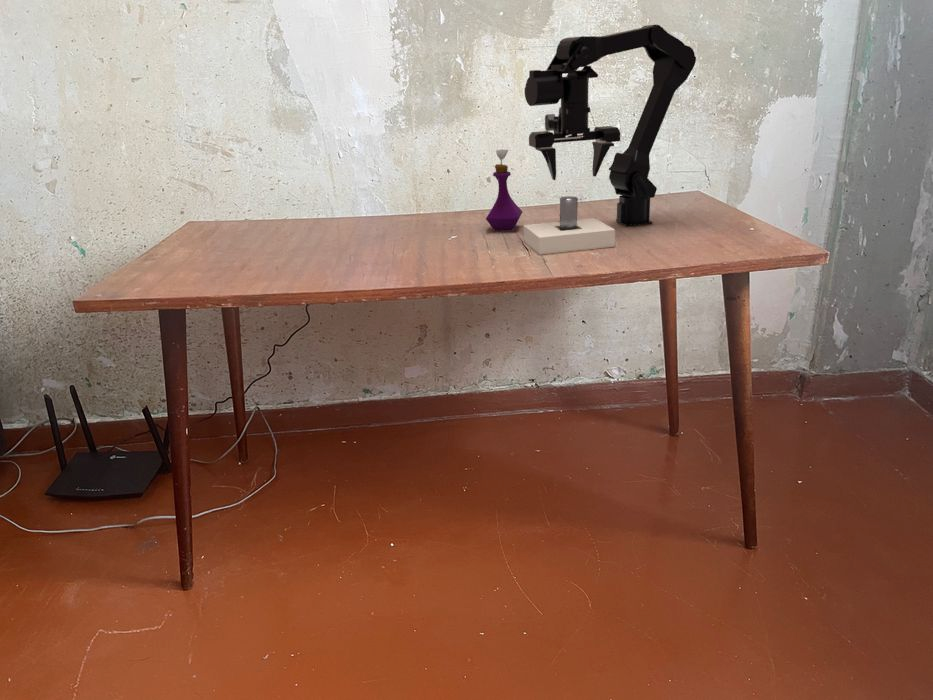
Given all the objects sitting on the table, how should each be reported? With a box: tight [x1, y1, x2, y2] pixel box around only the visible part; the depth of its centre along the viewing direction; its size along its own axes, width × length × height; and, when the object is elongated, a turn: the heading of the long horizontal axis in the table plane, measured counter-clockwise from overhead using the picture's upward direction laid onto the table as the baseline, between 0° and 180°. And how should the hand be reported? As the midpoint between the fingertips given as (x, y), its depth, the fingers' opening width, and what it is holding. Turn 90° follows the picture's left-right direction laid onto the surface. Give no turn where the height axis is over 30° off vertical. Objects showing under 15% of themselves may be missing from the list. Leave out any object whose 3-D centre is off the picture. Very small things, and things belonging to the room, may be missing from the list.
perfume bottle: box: [485, 149, 523, 232], centre depth 162 cm, size 8×8×18 cm
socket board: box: [523, 217, 616, 256], centre depth 149 cm, size 16×12×4 cm
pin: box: [559, 195, 579, 231], centre depth 147 cm, size 4×4×9 cm
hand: (574, 178), depth 153 cm, fingers open, 9 cm apart
